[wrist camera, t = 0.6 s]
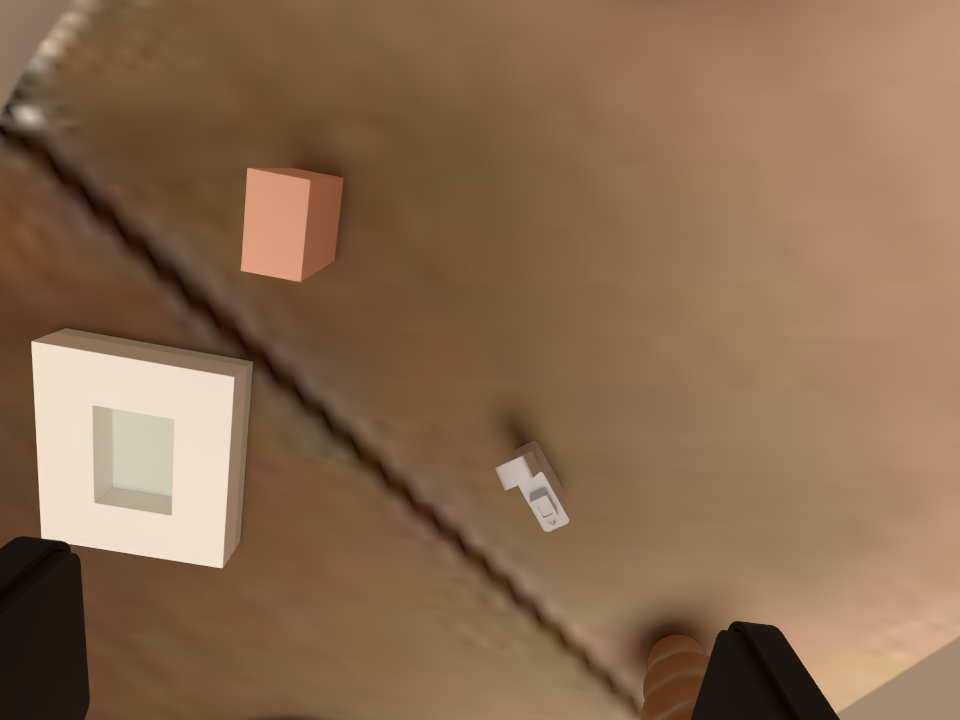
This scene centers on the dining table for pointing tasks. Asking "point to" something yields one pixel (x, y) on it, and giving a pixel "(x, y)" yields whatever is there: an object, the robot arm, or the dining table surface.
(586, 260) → the dining table surface
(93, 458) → the holder
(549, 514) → the white plastic device
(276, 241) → the block
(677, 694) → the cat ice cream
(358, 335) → the dining table surface
